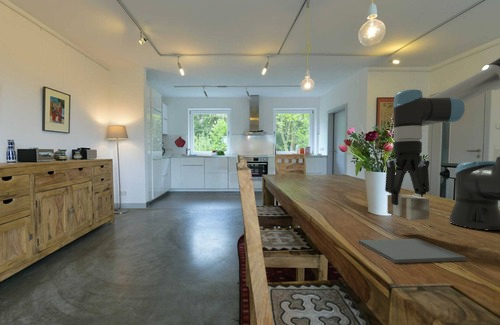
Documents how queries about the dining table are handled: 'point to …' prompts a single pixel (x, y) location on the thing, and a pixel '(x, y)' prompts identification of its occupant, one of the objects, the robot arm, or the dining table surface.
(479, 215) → the robot arm
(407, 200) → the block
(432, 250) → the mat
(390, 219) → the dining table surface
